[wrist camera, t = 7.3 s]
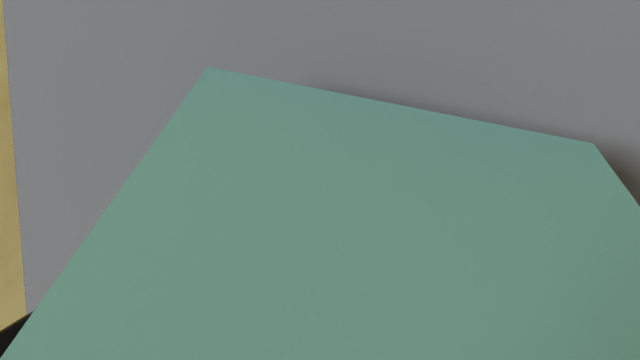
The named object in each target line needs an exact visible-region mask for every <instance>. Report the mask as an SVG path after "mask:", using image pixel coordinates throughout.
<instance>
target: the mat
mask: <svg viewBox="0 0 640 360" xmlns="http://www.w3.org/2000/svg"><path fill="white" fill-rule="evenodd" d="M3 13H4V26H5V39H6V52H7V65H8V78H9V91H10V104H11V117H12V130H13V143H14V156H15V169H16V182H17V195H18V208H19V221H20V234H21V247H22V260H23V273H24V286H25V299H26V312H27V314H29V313H30V312H32V311H34V310H35V309H36V307H37V306H38V305H39V303H40V302H41V300H42V299H43V298H44V296H45V295H46V293H47V292H48V291H49V289H50V288H51V286H52V285H53V284H54V282H55V281H56V279H57V278H58V276H59V275H60V274H61V272H62V271H63V269H64V268H65V267H66V265H67V264H68V262H69V261H70V260H71V258H72V257H73V255H74V254H75V253H76V251H77V250H78V248H79V247H80V246H81V244H82V243H83V241H84V240H85V239H86V237H87V236H88V234H89V233H90V231H91V230H92V229H93V227H94V226H95V224H96V223H97V222H98V220H99V219H100V217H101V216H102V215H103V213H104V212H105V210H106V209H107V208H108V206H109V205H110V203H111V202H112V201H113V199H114V198H115V196H116V195H117V194H118V192H119V191H120V189H121V188H122V186H123V185H124V184H125V182H126V181H127V179H128V178H129V177H130V175H131V174H132V172H133V171H134V170H135V168H136V167H137V165H138V164H139V163H140V161H141V160H142V158H143V157H144V156H145V154H146V153H147V151H148V150H149V149H150V147H151V146H152V144H153V143H154V141H155V140H156V139H157V137H158V136H159V134H160V133H161V132H162V130H163V129H164V127H165V126H166V125H167V123H168V122H169V120H170V119H171V118H172V116H173V115H174V113H175V112H176V111H177V109H178V108H179V106H180V105H181V103H182V102H183V101H184V99H185V98H186V96H187V95H188V94H189V92H190V91H191V89H192V88H193V87H194V85H195V84H196V82H197V81H198V80H199V78H200V77H201V75H202V74H203V73H204V71H205V70H206V68H207V67H211V68H216V69H221V70H226V71H231V72H236V73H241V74H246V75H252V76H257V77H262V78H267V79H272V80H277V81H282V82H287V83H292V84H297V85H302V86H307V87H312V88H317V89H322V90H327V91H332V92H337V93H342V94H347V95H352V96H357V97H362V98H367V99H372V100H377V101H382V102H387V103H393V104H398V105H403V106H408V107H413V108H418V109H423V110H428V111H433V112H438V113H443V114H448V115H453V116H458V117H463V118H468V119H473V120H478V121H483V122H488V123H493V124H498V125H503V126H508V127H513V128H518V129H523V130H529V131H534V132H539V133H544V134H549V135H554V136H559V137H564V138H569V139H574V140H579V141H584V142H589V143H593V144H594V145H595V146H596V148H597V149H598V150H599V152H600V153H601V154H602V156H603V157H604V159H605V160H606V161H607V163H608V164H609V165H610V167H611V168H612V169H613V171H614V172H615V173H616V175H617V176H618V178H619V179H620V180H621V182H622V183H623V184H624V186H625V187H626V188H627V190H628V191H629V192H630V194H631V195H632V197H633V198H634V199H635V201H636V202H637V203H638V205H639V206H640V0H3Z"/></svg>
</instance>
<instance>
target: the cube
mask: <svg viewBox="0 0 640 360" xmlns="http://www.w3.org/2000/svg"><path fill="white" fill-rule="evenodd" d="M0 360H640V206H639V205H638V203H637V202H636V201H635V199H634V198H633V197H632V195H631V194H630V192H629V191H628V190H627V188H626V187H625V186H624V184H623V183H622V182H621V180H620V179H619V178H618V176H617V175H616V173H615V172H614V171H613V169H612V168H611V167H610V165H609V164H608V163H607V161H606V160H605V159H604V157H603V156H602V154H601V153H600V152H599V150H598V149H597V148H596V146H595V145H594V144H593V143H589V142H584V141H579V140H574V139H569V138H564V137H559V136H554V135H549V134H544V133H539V132H534V131H529V130H523V129H518V128H513V127H508V126H503V125H498V124H493V123H488V122H483V121H478V120H473V119H468V118H463V117H458V116H453V115H448V114H443V113H438V112H433V111H428V110H423V109H418V108H413V107H408V106H403V105H398V104H393V103H387V102H382V101H377V100H372V99H367V98H362V97H357V96H352V95H347V94H342V93H337V92H332V91H327V90H322V89H317V88H312V87H307V86H302V85H297V84H292V83H287V82H282V81H277V80H272V79H267V78H262V77H257V76H252V75H246V74H241V73H236V72H231V71H226V70H221V69H216V68H211V67H207V68H206V70H205V71H204V73H203V74H202V75H201V77H200V78H199V80H198V81H197V82H196V84H195V85H194V87H193V88H192V89H191V91H190V92H189V94H188V95H187V96H186V98H185V99H184V101H183V102H182V103H181V105H180V106H179V108H178V109H177V111H176V112H175V113H174V115H173V116H172V118H171V119H170V120H169V122H168V123H167V125H166V126H165V127H164V129H163V130H162V132H161V133H160V134H159V136H158V137H157V139H156V140H155V141H154V143H153V144H152V146H151V147H150V149H149V150H148V151H147V153H146V154H145V156H144V157H143V158H142V160H141V161H140V163H139V164H138V165H137V167H136V168H135V170H134V171H133V172H132V174H131V175H130V177H129V178H128V179H127V181H126V182H125V184H124V185H123V186H122V188H121V189H120V191H119V192H118V194H117V195H116V196H115V198H114V199H113V201H112V202H111V203H110V205H109V206H108V208H107V209H106V210H105V212H104V213H103V215H102V216H101V217H100V219H99V220H98V222H97V223H96V224H95V226H94V227H93V229H92V230H91V231H90V233H89V234H88V236H87V237H86V239H85V240H84V241H83V243H82V244H81V246H80V247H79V248H78V250H77V251H76V253H75V254H74V255H73V257H72V258H71V260H70V261H69V262H68V264H67V265H66V267H65V268H64V269H63V271H62V272H61V274H60V275H59V276H58V278H57V279H56V281H55V282H54V284H53V285H52V286H51V288H50V289H49V291H48V292H47V293H46V295H45V296H44V298H43V299H42V300H41V302H40V303H39V305H38V306H37V307H36V309H35V310H34V312H33V313H32V314H31V316H30V317H29V319H28V320H27V321H26V323H25V324H24V326H23V327H22V329H21V330H20V331H19V333H18V334H17V336H16V337H15V338H14V340H13V341H12V343H11V344H10V345H9V347H8V348H7V350H6V351H5V352H4V354H3V355H2V357H1V358H0Z"/></svg>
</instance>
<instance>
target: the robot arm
mask: <svg viewBox="0 0 640 360" xmlns="http://www.w3.org/2000/svg"><path fill="white" fill-rule="evenodd" d="M33 312H34V311H32V312H30V313H29V314H27V315H26V316H24V317H22V318H21V319H19V320H17V321H16V322H14V323H13V324H11V325H9V326H8V327H6V328H4V329H3V330H1V331H0V358H1V357H2V355H3V354H4V352H5V351H6V350H7V348H8V347H9V345H10V344H11V343H12V341H13V340H14V338H15V337H16V336H17V334H18V333H19V331H20V330H21V329H22V327H23V326H24V324H25V323H26V321H27V320H28V319H29V317H30V316H31V314H32V313H33Z"/></svg>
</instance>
